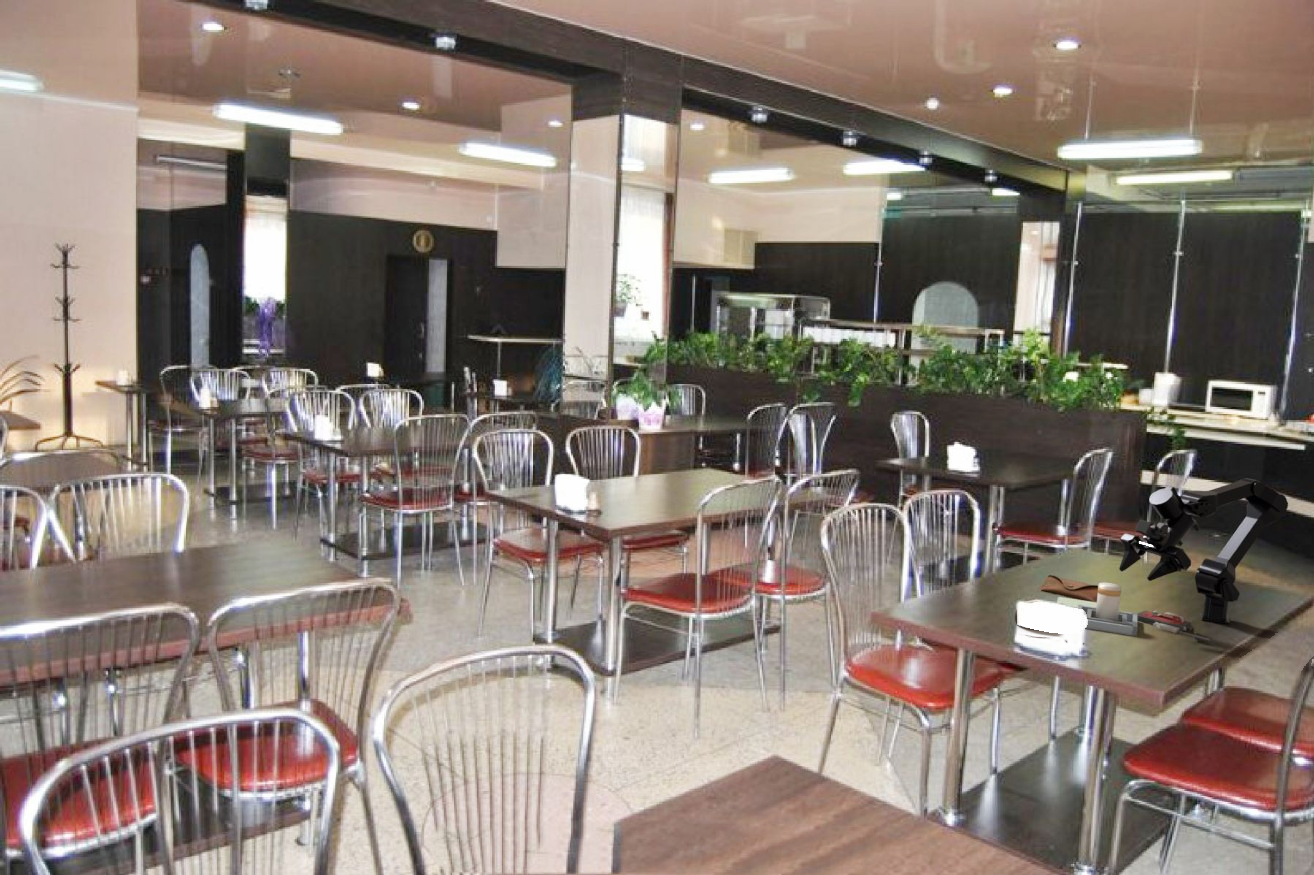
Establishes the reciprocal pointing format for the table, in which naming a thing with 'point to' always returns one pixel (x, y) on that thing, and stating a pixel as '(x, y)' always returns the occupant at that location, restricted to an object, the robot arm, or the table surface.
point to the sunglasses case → (1070, 588)
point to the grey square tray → (1112, 622)
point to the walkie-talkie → (1168, 623)
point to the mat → (1075, 602)
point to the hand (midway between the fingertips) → (1134, 574)
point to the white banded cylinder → (1108, 601)
